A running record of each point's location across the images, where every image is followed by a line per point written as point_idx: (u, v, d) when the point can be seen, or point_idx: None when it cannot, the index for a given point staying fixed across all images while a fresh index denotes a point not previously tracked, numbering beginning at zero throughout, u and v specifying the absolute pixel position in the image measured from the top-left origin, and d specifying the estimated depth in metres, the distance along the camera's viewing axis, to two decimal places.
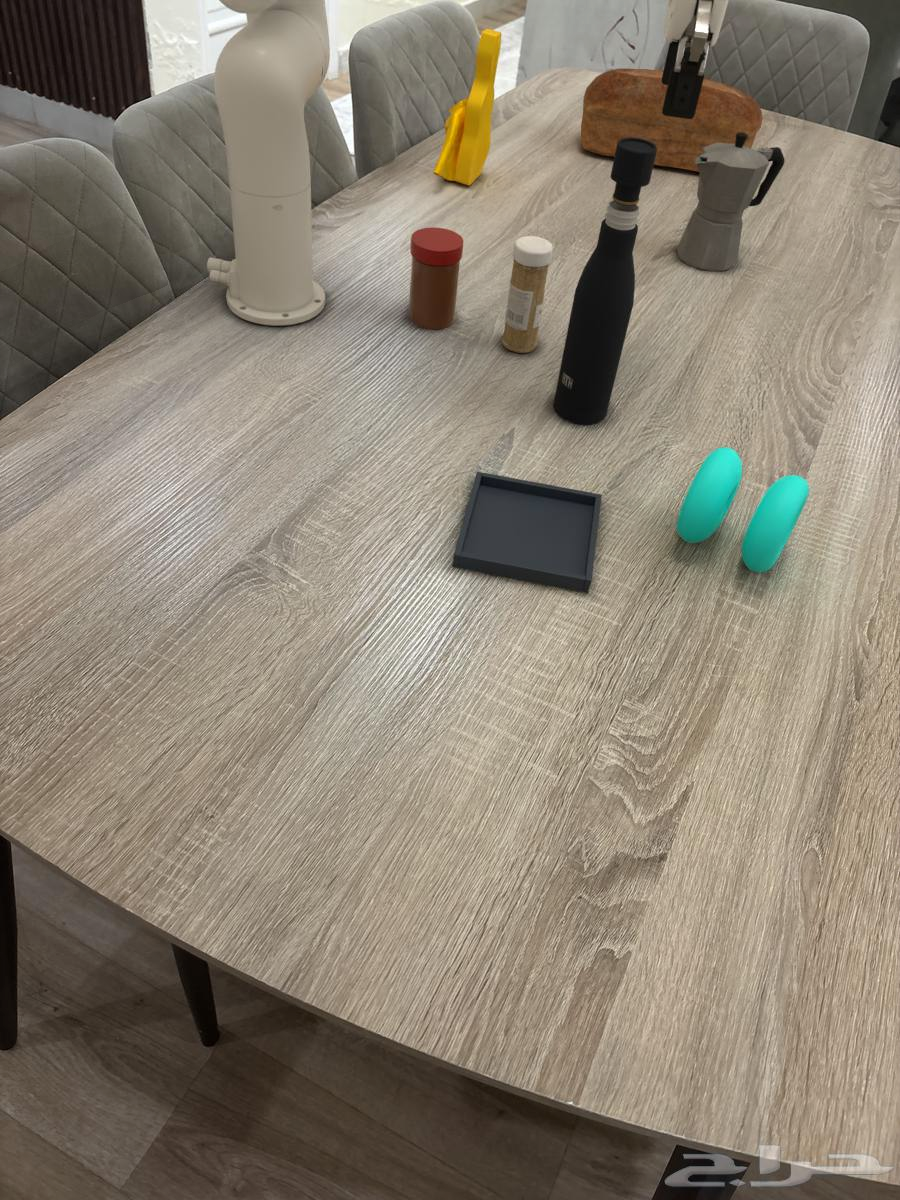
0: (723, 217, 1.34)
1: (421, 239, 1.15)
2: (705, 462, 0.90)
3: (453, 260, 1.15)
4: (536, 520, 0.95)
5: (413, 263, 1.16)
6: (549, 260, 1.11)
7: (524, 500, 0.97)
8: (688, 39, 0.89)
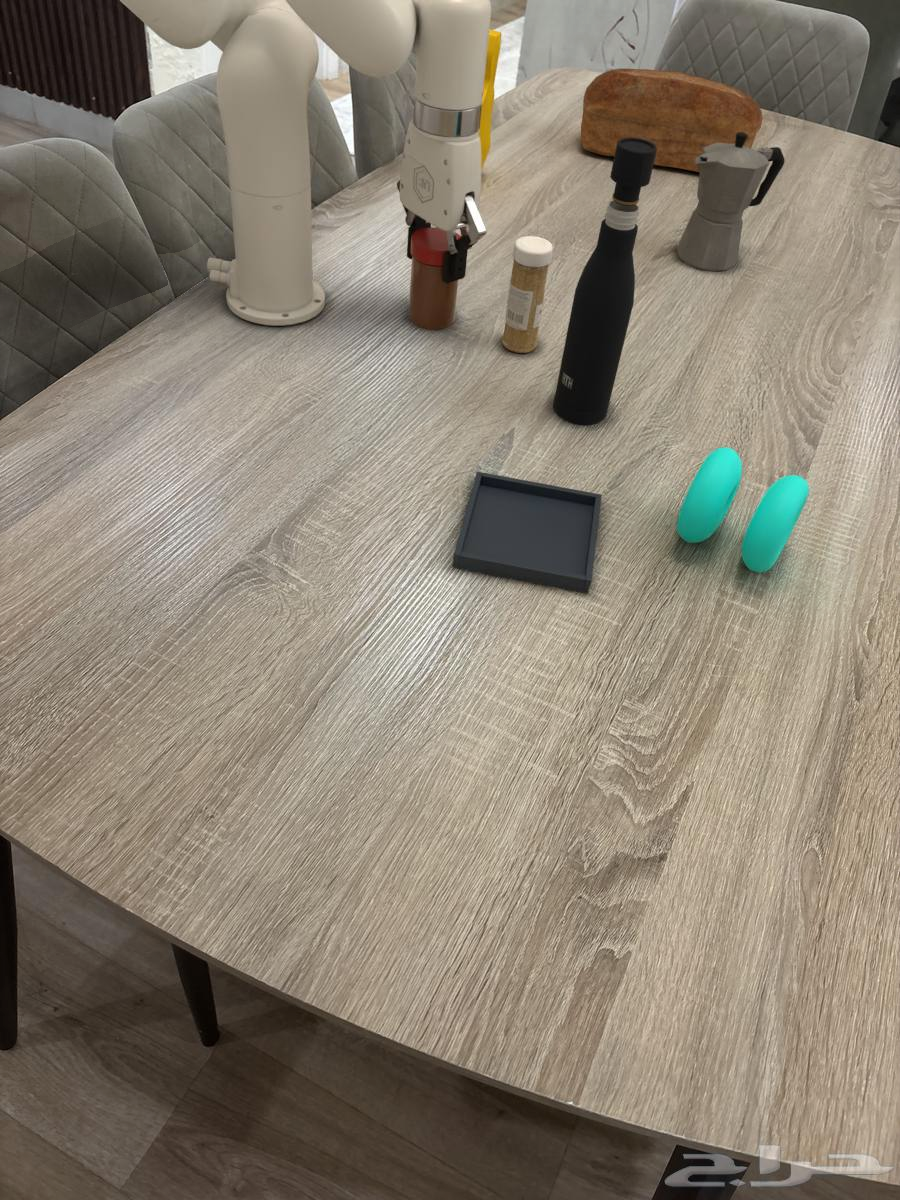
0: (723, 217, 1.34)
1: (421, 239, 1.15)
2: (705, 462, 0.90)
3: None
4: (536, 520, 0.95)
5: (413, 263, 1.16)
6: (549, 260, 1.11)
7: (524, 500, 0.97)
8: None
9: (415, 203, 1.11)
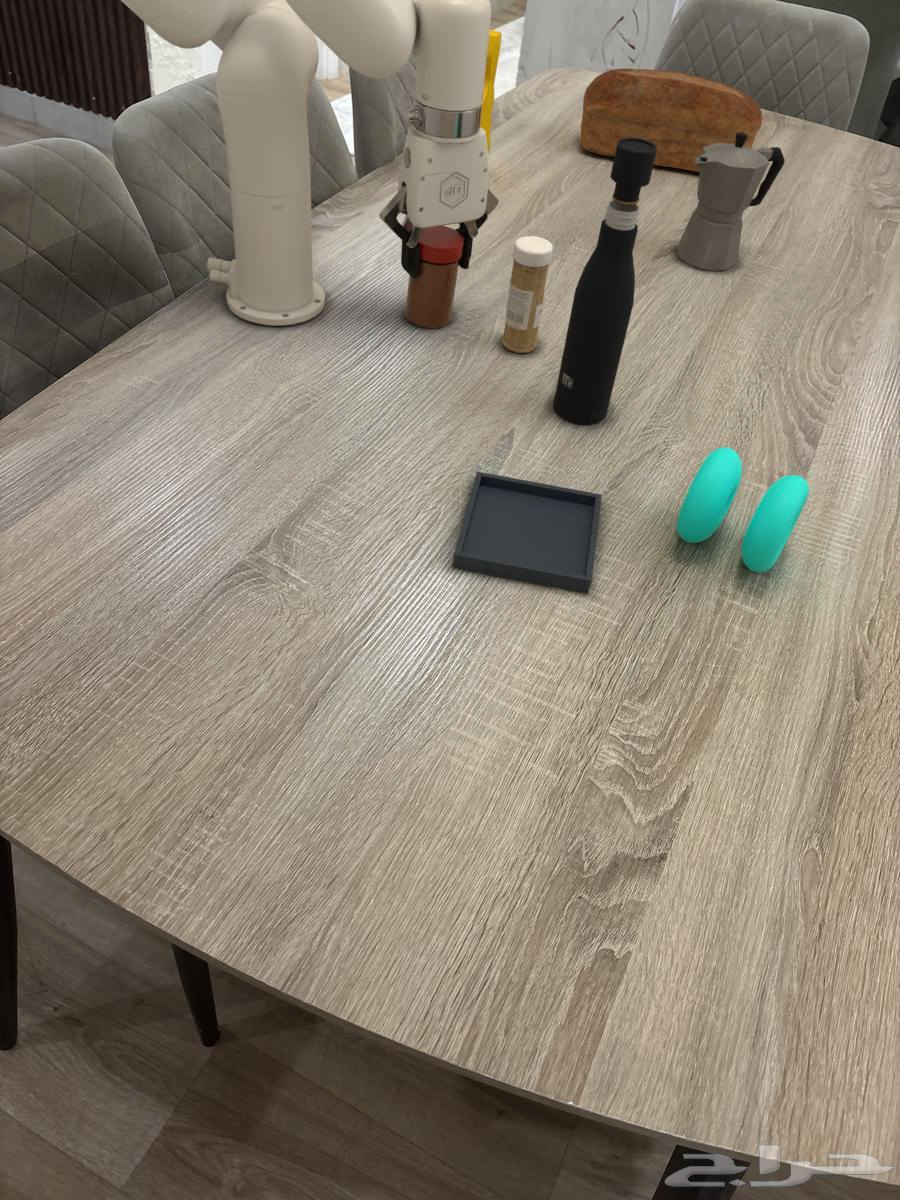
0: (723, 217, 1.34)
1: (438, 243, 1.14)
2: (705, 462, 0.90)
3: None
4: (536, 520, 0.95)
5: None
6: (549, 260, 1.11)
7: (524, 500, 0.97)
8: None
9: (442, 214, 1.10)
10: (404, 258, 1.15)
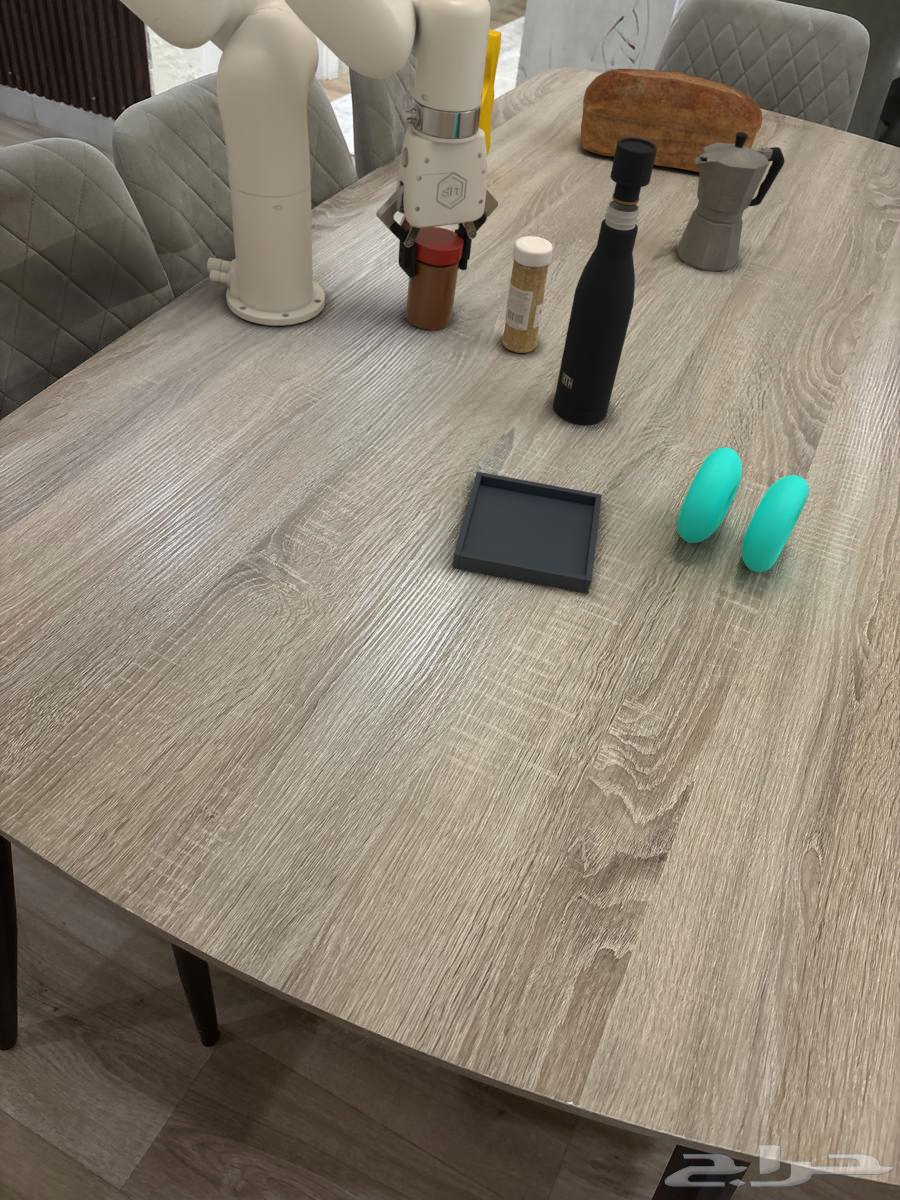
0: (723, 217, 1.34)
1: (453, 241, 1.15)
2: (705, 462, 0.90)
3: None
4: (536, 520, 0.95)
5: None
6: (549, 260, 1.11)
7: (524, 500, 0.97)
8: None
9: (439, 215, 1.10)
10: (401, 257, 1.15)
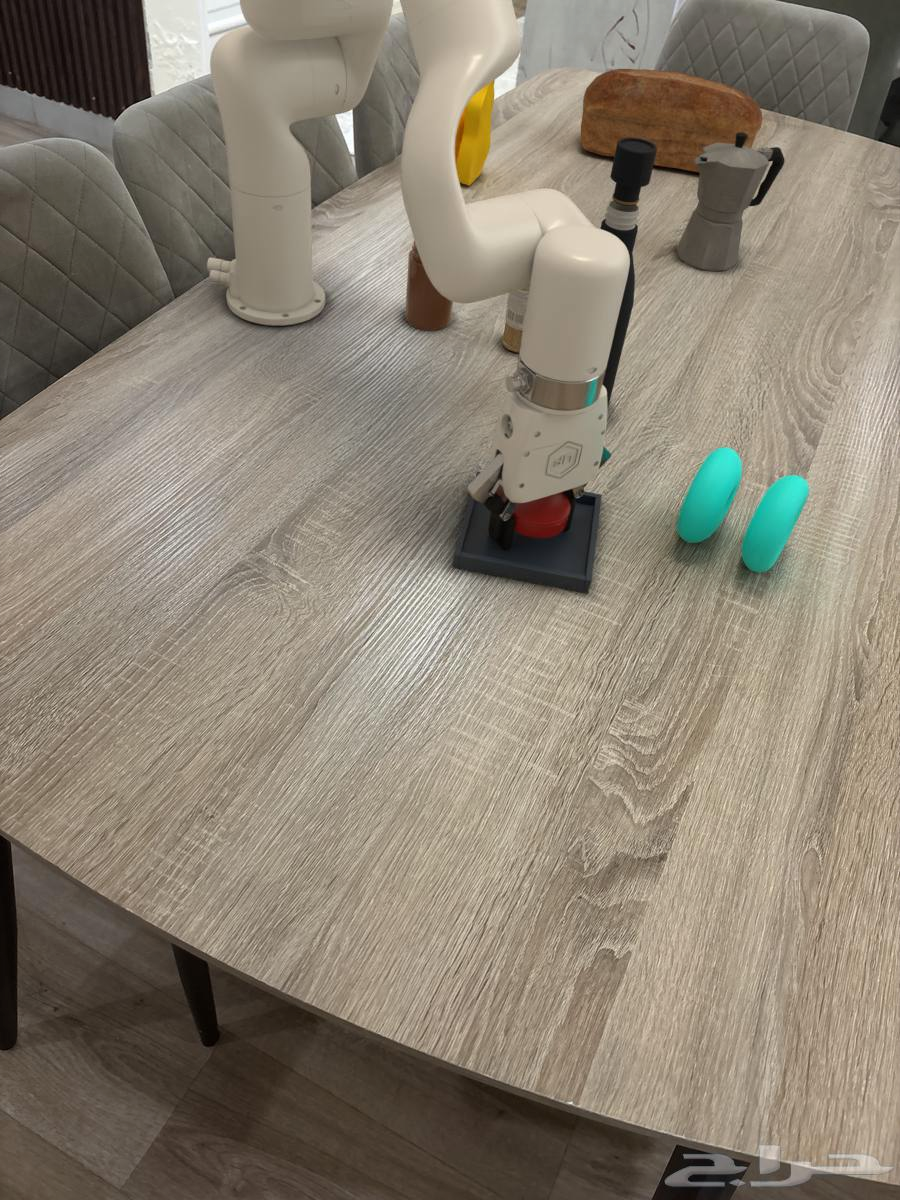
0: (723, 217, 1.34)
1: (558, 505, 0.91)
2: (705, 462, 0.90)
3: None
4: None
5: (411, 265, 1.16)
6: None
7: None
8: None
9: (547, 487, 0.86)
10: (494, 528, 0.91)
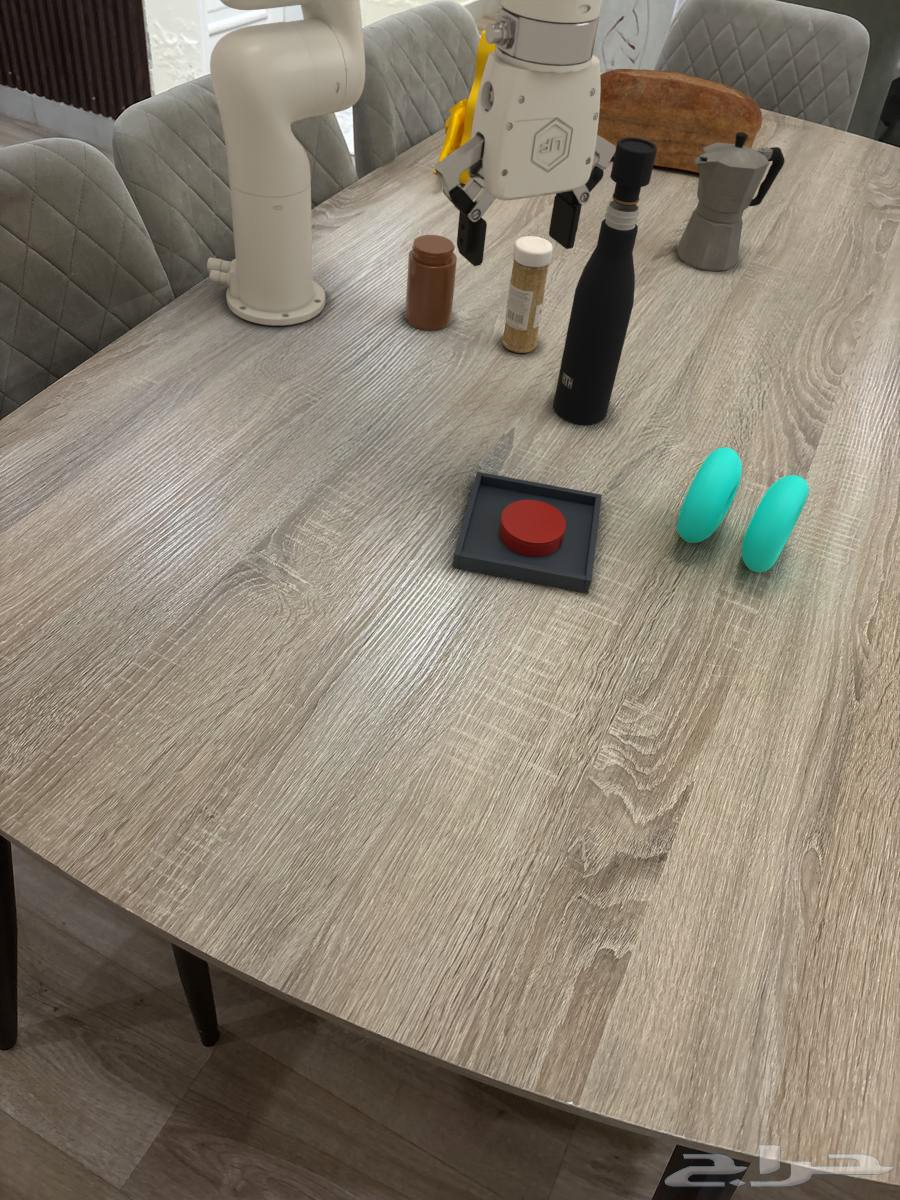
0: (723, 217, 1.34)
1: (553, 523, 0.92)
2: (705, 462, 0.90)
3: None
4: None
5: (411, 265, 1.16)
6: (549, 260, 1.11)
7: None
8: None
9: (533, 181, 0.77)
10: (462, 237, 0.81)
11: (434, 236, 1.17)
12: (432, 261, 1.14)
